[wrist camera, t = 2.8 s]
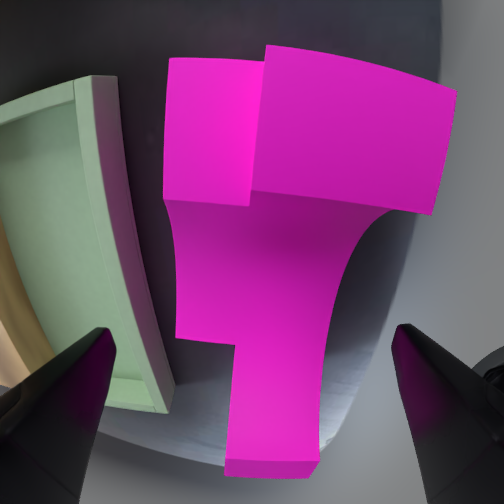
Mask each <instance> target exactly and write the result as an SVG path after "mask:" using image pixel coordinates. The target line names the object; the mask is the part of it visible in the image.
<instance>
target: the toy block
mask: <svg viewBox="0 0 504 504" xmlns="http://www.w3.org/2000/svg"><path fill="white" fill-rule="evenodd" d="M456 97H457V91H455V90H453V89H450V88H448V87H445V86H442V85H440V84H437V83H434V82H431V81H429V80H426V79H423V78H420V77H417V76H414V75H411V74H407V73H404V72H401V71H397V70H394V69H391V68H387V67H383V66H380V65H376V64H372V63H368V62H364V61H360V60H355V59H351V58H347V57H342V56H337V55H332V54H327V53H321V52H316V51H310V50H303V49H297V48H290V47H282V46H274V45H267V46H266V53H265V60H264V62H260V61H249V60H235V59H216V58H170V59H169V70H168V82H167V96H166V112H165V132H164V164H163V200H164V203H165V205H166V208H167V211H168V214H169V218H170V223H171V227H172V233H173V240H174V248H175V260H176V284H177V305H176V335H175V338H180V339H187V340H195V341H204V342H213V343H222V344H232V345H235V354H234V365H233V376H232V388H231V399H230V410H229V422H228V434H227V445H226V457H225V471H224V476H234V477H248V478H273V479H274V478H275V479H295V478H296V479H302V478H309V477H310V475H311V473H312V472H313V471H314V469H315V468H316V466H317V465H318V463H319V462H320V451H319V408H320V391H321V379H322V369H323V360H324V353H325V346H326V340H327V334H328V329H329V324H330V319H331V314H332V310H333V306H334V302H335V298H336V295H337V291H338V288H339V285H340V281H341V278H342V275H343V273H344V270H345V267H346V265H347V263H348V260H349V258H350V256H351V254H352V252H353V250H354V248H355V246H356V244H357V242H358V241H359V239H360V238H361V236H362V235H363V233H364V232H365V231H366V229H367V228H368V227H369V226H370V225H371V224H372V223H373V222H374V221H375V220H376V219H377V218H378V217H380V216H381V215H383V214H385V213H386V212H388V211H391V210H394V209H397V210H403V211H409V212H415V213H420V214H426V215H432V211H433V208H434V204H435V200H436V196H437V193H438V188H439V185H440V181H441V176H442V172H443V168H444V163H445V159H446V154H447V149H448V144H449V139H450V134H451V129H452V123H453V117H454V111H455V104H456Z"/></svg>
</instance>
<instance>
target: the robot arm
mask: <svg viewBox="0 0 504 504" xmlns="http://www.w3.org/2000/svg"><path fill="white" fill-rule="evenodd" d="M391 350H392V356H393V361H394V366H395V370H396V376H397V382H398V387H399V392H400V395H401V399H402V402H403V406H404V409H405V413H406V416H407V420H408V424H409V427H410V431H411V435H412V438H413V442H414V446H415V450H416V454H417V458H418V462H419V467H420V471H421V475H422V480H423V484H424V489H425V494H426V498H427V503H428V504H504V365H502V366H498V367H494V368H491V369H489V370H488V371H487V372H486V373H485V374H484V376H483V378H482V377H481V376H480V375H479V374H477V373H476V372H475V371H473V370H472V369H470V368H469V367H468V366H467V365H465V364H464V363H463V362H462V361H460V360H459V359H457V358H456V357H455V356H454V355H452V354H451V353H450V352H448V351H447V350H445V349H444V348H443V347H441V346H440V345H439V344H438V343H436V342H435V341H433V340H432V339H431V338H429V337H428V336H426V335H425V334H424V333H422V332H421V331H420V330H418V329H417V328H416V327H414V326H413V325H411V324H400V325H398V326H397V328H396V331H395V335H394V338H393V341H392V345H391ZM116 353H117V348H116V344H115V342H114V339H113V336H112V334H111V331H110V329H109V328H107V327H96V328H95V329H93V330H92V331H90V332H89V333H87V334H86V335H85V336H83V337H82V338H80V339H79V340H78V341H76V342H75V343H73V344H72V345H71V346H69V347H68V348H66V349H65V350H64V351H62V352H61V353H59V354H58V355H57V356H55V357H54V358H53V359H51V360H50V361H48V362H47V363H46V364H44V365H43V366H41V367H40V368H39V369H37V370H36V371H35V372H33V373H32V374H30V375H29V376H28V377H26V378H25V379H24V380H22V382H20V383H18V384H17V385H16V386H14V387H13V388H11V389H10V390H9V391H7V392H6V393H4V394H3V395H2V396H0V504H79V501H80V500H79V499H80V495H81V491H82V486H83V482H84V478H85V474H86V470H87V466H88V462H89V458H90V454H91V450H92V447H93V443H94V439H95V436H96V432H97V429H98V425H99V422H100V418H101V415H102V412H103V408H104V405H105V402H106V399H107V395H108V392H109V387H110V382H111V377H112V372H113V368H114V363H115V358H116Z"/></svg>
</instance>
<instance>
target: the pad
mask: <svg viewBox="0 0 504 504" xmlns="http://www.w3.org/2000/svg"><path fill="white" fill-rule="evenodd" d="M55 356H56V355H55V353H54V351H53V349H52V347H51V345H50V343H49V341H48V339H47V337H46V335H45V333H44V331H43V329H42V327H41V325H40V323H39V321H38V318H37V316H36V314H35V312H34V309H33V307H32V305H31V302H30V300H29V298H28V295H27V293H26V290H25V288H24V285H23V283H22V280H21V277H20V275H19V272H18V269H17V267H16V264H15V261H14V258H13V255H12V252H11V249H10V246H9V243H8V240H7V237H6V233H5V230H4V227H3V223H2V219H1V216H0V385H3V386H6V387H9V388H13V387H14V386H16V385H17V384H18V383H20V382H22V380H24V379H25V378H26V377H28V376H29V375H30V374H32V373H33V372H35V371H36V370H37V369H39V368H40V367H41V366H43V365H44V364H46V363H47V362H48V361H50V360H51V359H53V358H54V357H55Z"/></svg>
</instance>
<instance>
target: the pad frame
mask: <svg viewBox="0 0 504 504" xmlns="http://www.w3.org/2000/svg"><path fill="white" fill-rule="evenodd" d="M0 216H1V219H2V223H3V227H4V230H5V233H6V237H7V240H8V243H9V246H10V249H11V252H12V255H13V258H14V261H15V264H16V267H17V269H18V272H19V275H20V277H21V280H22V283H23V285H24V288H25V290H26V293H27V295H28V298H29V300H30V302H31V305H32V307H33V309H34V312H35V314H36V316H37V318H38V321H39V323H40V325H41V327H42V329H43V331H44V333H45V335H46V337H47V339H48V341H49V343H50V345H51V347H52V349H53V351H54V353H55V355H56V356H57V355H58V354H59V353H61V352H62V351H64V350H65V349H66V348H68V347H69V346H71V345H72V344H73V343H75V342H76V341H78V340H79V339H80V338H82V337H83V336H85V335H86V334H87V333H89V332H90V331H92V330H93V329H95V328H96V327H107V328H109V329H110V331H111V334H112V336H113V339H114V342H115V344H116V348H117V353H116V358H115V363H114V368H113V372H112V377H111V382H110V387H109V392H108V395H107V399H106V402H105V406H111V407H118V408H124V409H131V410H139V411H147V412H157V413H165V414H169V411H170V407H171V403H172V399H173V394H174V390H175V387H176V385H175V382H174V379H173V375H172V372H171V369H170V366H169V362H168V359H167V355H166V352H165V348H164V345H163V341H162V338H161V334H160V330H159V327H158V323H157V319H156V315H155V311H154V307H153V303H152V299H151V295H150V291H149V287H148V282H147V278H146V273H145V269H144V264H143V260H142V255H141V250H140V245H139V240H138V235H137V230H136V224H135V219H134V213H133V207H132V201H131V195H130V189H129V182H128V175H127V168H126V161H125V153H124V145H123V136H122V127H121V117H120V106H119V94H118V79H117V76H100V75H90V76H86V77H82V78H78V79H75V80H71V81H68V82H65V83H61V84H58V85H55V86H52V87H49V88H46V89H43V90H40V91H37V92H34V93H31V94H29V95H26V96H23V97H21V98H18V99H15V100H13V101H10V102H8V103H5V104H3V105H1V106H0Z"/></svg>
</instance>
